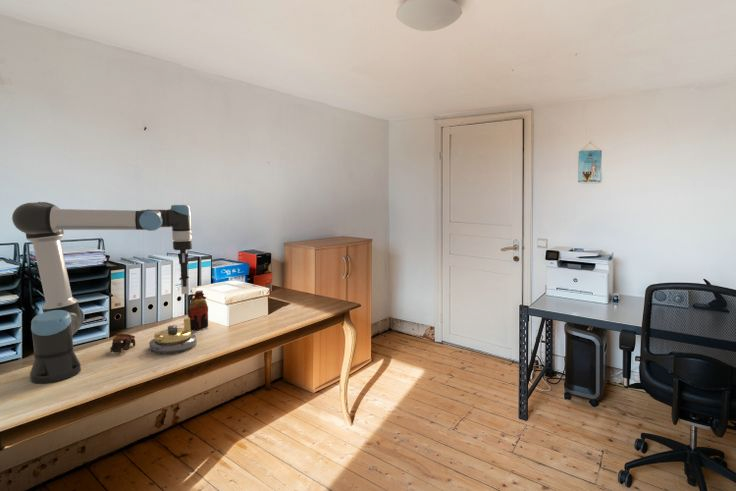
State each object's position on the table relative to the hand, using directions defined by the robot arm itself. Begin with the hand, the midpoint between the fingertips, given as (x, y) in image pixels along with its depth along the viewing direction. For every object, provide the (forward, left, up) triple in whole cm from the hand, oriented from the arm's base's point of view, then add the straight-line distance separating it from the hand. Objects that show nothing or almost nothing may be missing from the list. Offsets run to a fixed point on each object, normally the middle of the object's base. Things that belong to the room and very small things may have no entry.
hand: (185, 293), depth 179 cm
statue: (+15, +22, -25) cm, 36 cm away
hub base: (-4, +5, -24) cm, 25 cm away
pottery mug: (-20, +17, -25) cm, 36 cm away
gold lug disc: (-4, +5, -21) cm, 22 cm away
